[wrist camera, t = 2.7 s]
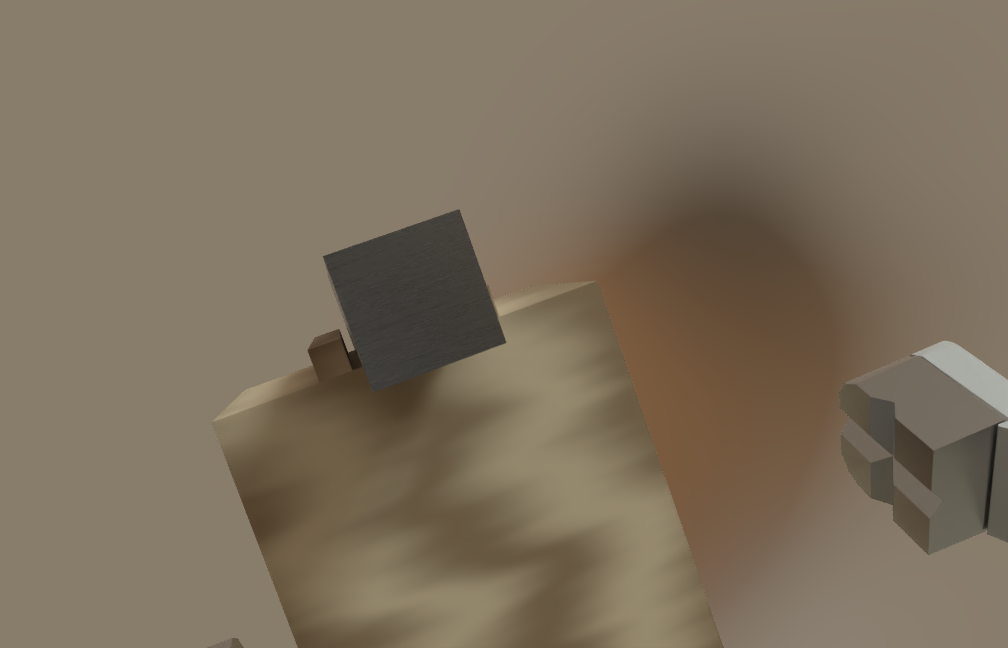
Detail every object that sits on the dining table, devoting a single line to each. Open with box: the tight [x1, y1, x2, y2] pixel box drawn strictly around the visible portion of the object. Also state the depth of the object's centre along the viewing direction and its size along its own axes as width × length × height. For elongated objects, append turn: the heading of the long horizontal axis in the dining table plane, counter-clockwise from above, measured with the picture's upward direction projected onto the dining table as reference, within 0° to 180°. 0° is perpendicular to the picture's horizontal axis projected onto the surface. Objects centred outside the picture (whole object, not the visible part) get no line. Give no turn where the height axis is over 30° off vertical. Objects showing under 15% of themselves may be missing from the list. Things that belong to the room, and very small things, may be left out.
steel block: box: [323, 210, 506, 392], centre depth 30 cm, size 3×21×3 cm, turn 11°
